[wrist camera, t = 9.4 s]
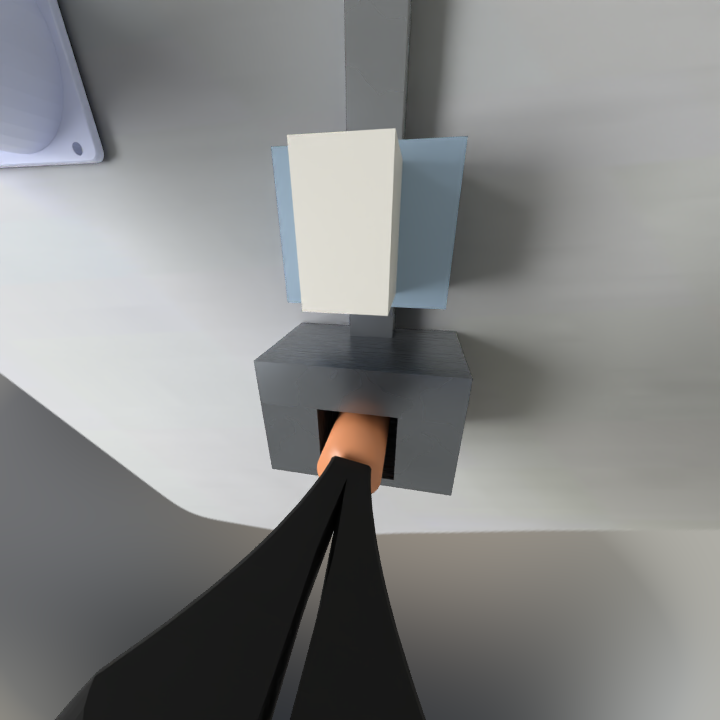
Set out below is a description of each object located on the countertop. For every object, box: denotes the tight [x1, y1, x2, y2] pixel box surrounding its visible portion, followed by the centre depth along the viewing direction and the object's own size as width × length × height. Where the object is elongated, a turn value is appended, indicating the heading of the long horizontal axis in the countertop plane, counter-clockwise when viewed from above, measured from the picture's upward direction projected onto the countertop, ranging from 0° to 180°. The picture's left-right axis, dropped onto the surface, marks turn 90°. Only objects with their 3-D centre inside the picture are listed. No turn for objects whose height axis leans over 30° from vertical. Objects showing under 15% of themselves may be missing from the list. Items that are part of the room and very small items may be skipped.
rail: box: [344, 0, 411, 338], centre depth 10 cm, size 2×18×2 cm, turn 0°
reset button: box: [317, 412, 391, 494], centre depth 12 cm, size 2×2×4 cm
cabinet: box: [254, 323, 473, 495], centre depth 14 cm, size 8×6×5 cm
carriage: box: [271, 128, 468, 316], centre depth 10 cm, size 6×5×6 cm
